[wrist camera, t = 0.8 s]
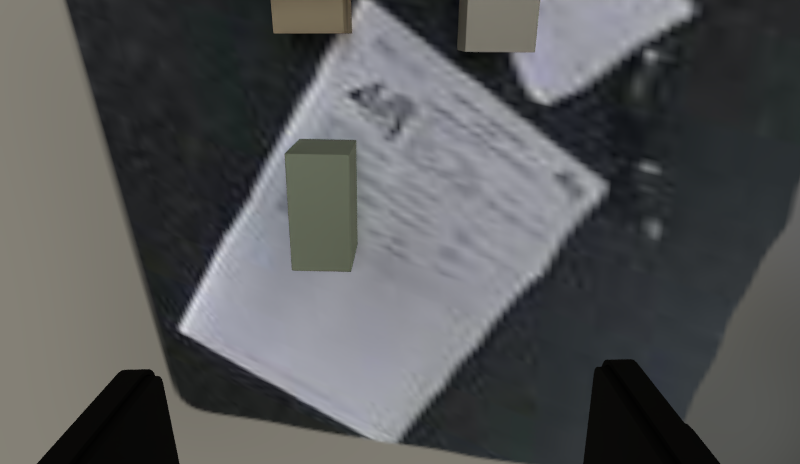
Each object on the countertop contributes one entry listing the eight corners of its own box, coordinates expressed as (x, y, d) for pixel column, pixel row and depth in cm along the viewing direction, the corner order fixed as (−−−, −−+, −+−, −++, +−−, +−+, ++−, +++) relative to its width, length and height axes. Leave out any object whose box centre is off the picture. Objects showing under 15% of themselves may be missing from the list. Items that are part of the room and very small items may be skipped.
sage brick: (300, 138, 36) (284, 153, 31) (356, 139, 36) (349, 155, 31) (305, 242, 39) (291, 270, 34) (357, 243, 39) (351, 271, 34)
